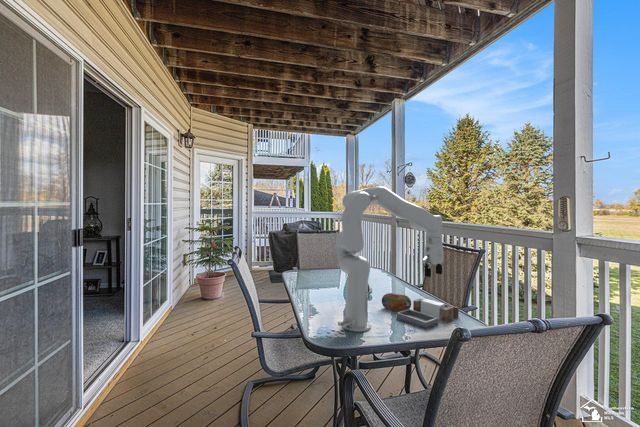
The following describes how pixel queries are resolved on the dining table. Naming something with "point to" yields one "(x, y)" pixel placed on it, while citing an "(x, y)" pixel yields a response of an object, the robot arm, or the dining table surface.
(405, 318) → the tray
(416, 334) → the dining table surface
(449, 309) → the bay
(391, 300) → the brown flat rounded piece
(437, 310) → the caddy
